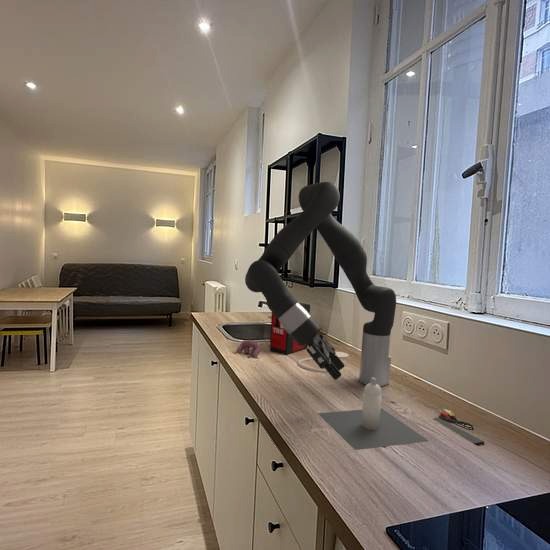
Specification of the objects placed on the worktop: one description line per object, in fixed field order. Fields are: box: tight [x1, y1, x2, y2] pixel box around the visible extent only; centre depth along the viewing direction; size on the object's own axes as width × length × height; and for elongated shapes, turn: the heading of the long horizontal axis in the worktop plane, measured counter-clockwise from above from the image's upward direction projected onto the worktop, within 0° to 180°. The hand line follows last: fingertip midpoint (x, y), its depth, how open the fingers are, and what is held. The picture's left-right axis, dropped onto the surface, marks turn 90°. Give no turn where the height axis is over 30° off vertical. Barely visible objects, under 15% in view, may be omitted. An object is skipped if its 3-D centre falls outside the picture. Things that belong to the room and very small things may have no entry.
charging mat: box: [317, 407, 430, 451], centre depth 103 cm, size 20×20×1 cm
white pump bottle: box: [361, 377, 383, 430], centre depth 103 cm, size 4×4×12 cm
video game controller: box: [235, 339, 263, 359], centre depth 166 cm, size 10×5×7 cm, turn 58°
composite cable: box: [437, 408, 475, 429], centre depth 110 cm, size 10×5×2 cm, turn 25°
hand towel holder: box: [297, 351, 349, 373], centre depth 157 cm, size 17×4×21 cm
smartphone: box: [432, 417, 485, 446], centre depth 104 cm, size 7×1×15 cm
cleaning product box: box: [269, 302, 311, 356], centre depth 177 cm, size 16×9×20 cm, turn 144°
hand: (340, 372), depth 104 cm, fingers open, 8 cm apart
